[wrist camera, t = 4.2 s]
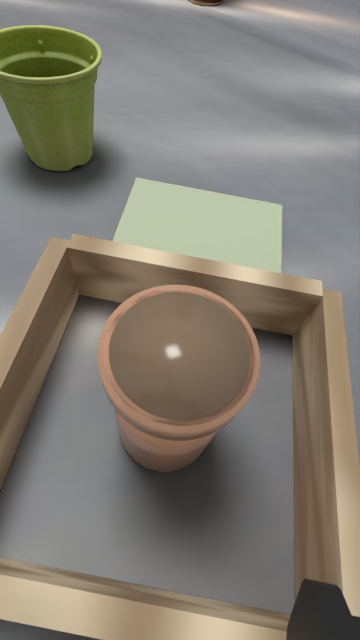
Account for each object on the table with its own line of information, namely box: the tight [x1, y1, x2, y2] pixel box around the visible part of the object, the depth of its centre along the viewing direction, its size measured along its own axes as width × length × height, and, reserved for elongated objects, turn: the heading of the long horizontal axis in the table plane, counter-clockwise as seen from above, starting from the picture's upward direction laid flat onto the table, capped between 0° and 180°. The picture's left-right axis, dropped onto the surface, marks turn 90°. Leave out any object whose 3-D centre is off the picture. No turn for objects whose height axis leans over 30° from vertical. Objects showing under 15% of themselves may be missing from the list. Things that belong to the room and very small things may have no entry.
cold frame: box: [0, 234, 360, 640], centre depth 19 cm, size 18×18×5 cm
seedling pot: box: [97, 285, 260, 472], centre depth 17 cm, size 6×6×10 cm
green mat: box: [113, 178, 282, 273], centre depth 30 cm, size 14×10×1 cm
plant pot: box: [0, 25, 102, 171], centre depth 30 cm, size 9×9×9 cm
